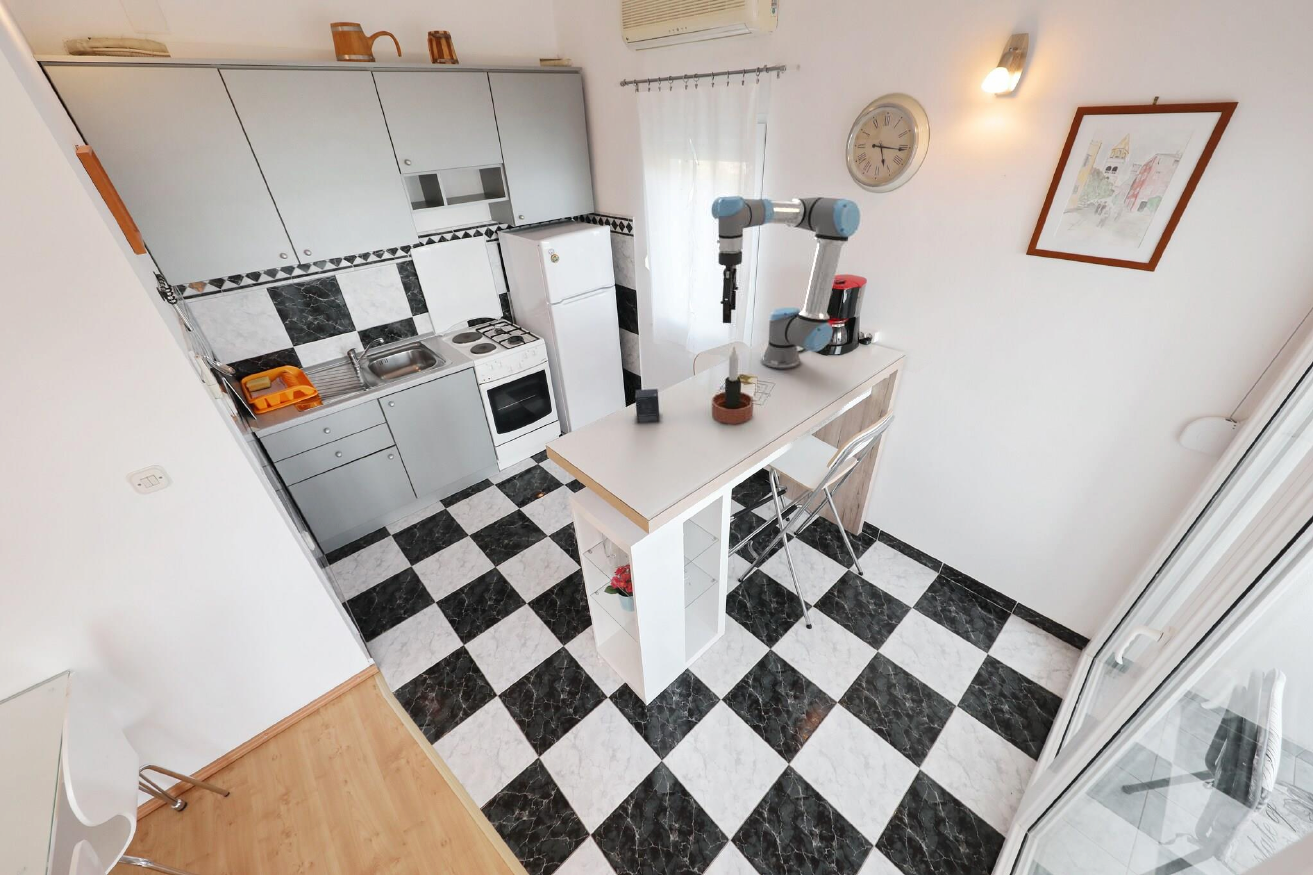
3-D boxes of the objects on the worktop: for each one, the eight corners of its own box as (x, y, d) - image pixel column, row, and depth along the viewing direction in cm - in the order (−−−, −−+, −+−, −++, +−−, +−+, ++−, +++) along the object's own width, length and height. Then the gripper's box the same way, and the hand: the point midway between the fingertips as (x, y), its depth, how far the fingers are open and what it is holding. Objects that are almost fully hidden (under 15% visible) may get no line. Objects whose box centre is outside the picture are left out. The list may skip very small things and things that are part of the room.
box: (659, 414, 181) (658, 388, 176) (659, 422, 176) (657, 395, 171) (637, 415, 181) (635, 389, 176) (637, 423, 177) (635, 396, 171)
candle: (740, 416, 176) (743, 349, 162) (725, 417, 176) (727, 350, 163) (738, 409, 180) (741, 343, 167) (724, 410, 180) (725, 344, 167)
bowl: (730, 401, 187) (731, 387, 184) (761, 415, 177) (762, 400, 174) (703, 415, 179) (703, 400, 176) (733, 429, 170) (733, 414, 166)
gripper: (723, 242, 170) (722, 304, 181) (712, 260, 149) (713, 328, 161) (745, 242, 168) (743, 304, 179) (738, 260, 148) (736, 329, 159)
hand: (729, 316), depth 170 cm, fingers open, 13 cm apart
